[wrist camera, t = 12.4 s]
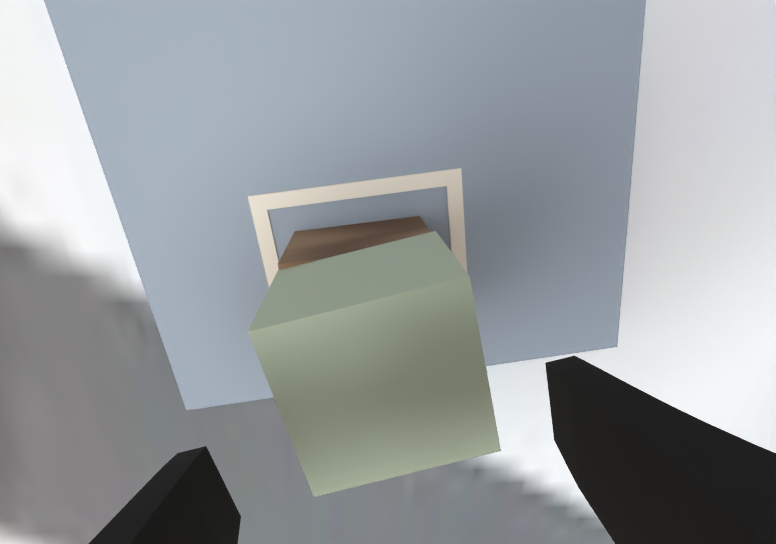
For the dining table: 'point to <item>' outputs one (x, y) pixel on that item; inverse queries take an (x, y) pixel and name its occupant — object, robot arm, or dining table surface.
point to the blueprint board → (363, 155)
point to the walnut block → (347, 239)
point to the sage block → (377, 363)
